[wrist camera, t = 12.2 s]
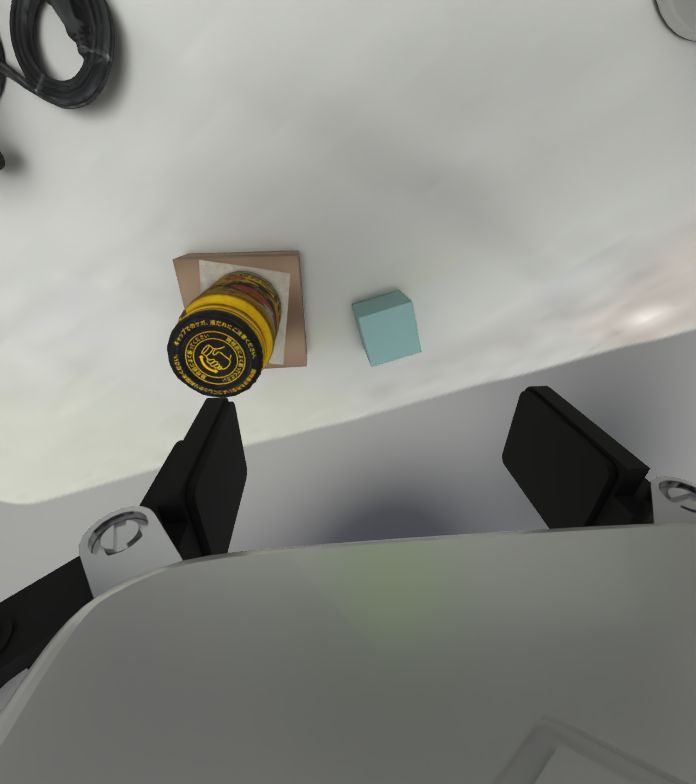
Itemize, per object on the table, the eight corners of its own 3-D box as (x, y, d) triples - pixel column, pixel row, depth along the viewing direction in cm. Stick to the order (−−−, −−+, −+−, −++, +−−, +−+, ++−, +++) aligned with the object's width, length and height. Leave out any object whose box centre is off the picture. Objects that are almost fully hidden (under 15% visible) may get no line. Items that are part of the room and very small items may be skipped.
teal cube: (351, 304, 34) (358, 318, 30) (398, 289, 34) (412, 301, 30) (363, 348, 37) (371, 366, 33) (408, 334, 37) (421, 351, 32)
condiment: (290, 272, 29) (280, 309, 18) (283, 364, 32) (271, 438, 22) (199, 259, 27) (132, 290, 17) (203, 355, 31) (150, 430, 21)
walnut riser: (188, 253, 31) (172, 259, 27) (298, 250, 31) (297, 256, 28) (211, 356, 35) (200, 372, 32) (306, 350, 36) (306, 366, 33)
